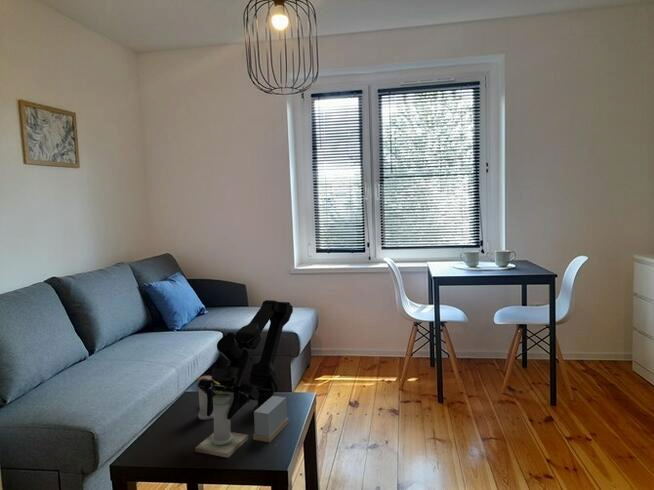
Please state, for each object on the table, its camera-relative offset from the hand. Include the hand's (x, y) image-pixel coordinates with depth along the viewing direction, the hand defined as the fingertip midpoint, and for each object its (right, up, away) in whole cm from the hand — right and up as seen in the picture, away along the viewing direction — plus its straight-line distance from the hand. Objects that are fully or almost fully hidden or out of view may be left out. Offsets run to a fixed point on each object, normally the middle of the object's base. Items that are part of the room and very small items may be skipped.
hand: (218, 417), depth 133 cm
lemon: (-9, -7, +32) cm, 34 cm away
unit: (+14, -8, +10) cm, 19 cm away
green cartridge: (+1, -7, +2) cm, 8 cm away
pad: (+1, -9, +2) cm, 9 cm away
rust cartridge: (-9, -8, +22) cm, 25 cm away
